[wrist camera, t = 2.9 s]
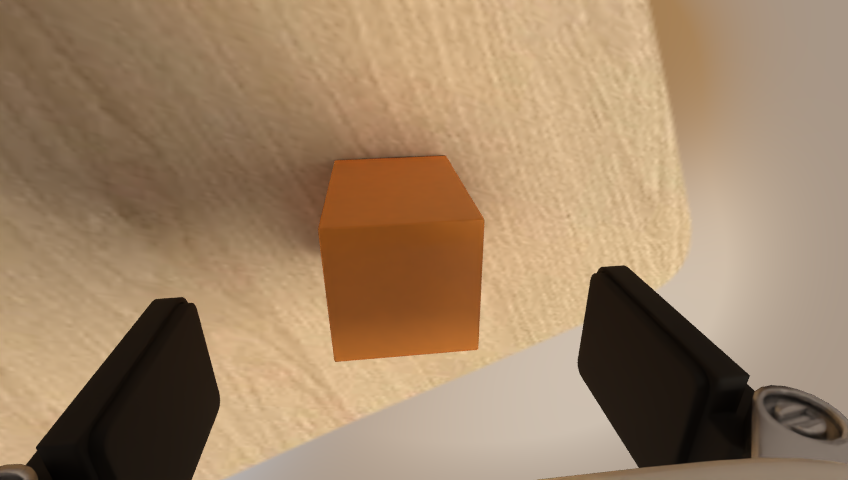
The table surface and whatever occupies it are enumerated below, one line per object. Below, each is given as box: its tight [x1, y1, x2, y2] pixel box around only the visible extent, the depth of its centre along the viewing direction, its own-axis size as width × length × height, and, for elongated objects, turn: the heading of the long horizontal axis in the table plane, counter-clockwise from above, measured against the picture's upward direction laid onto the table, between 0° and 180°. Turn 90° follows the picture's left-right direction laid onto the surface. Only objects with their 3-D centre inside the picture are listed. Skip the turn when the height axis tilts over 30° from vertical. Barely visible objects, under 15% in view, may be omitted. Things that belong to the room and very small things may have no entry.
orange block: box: [318, 156, 484, 362], centre depth 14 cm, size 4×4×6 cm
